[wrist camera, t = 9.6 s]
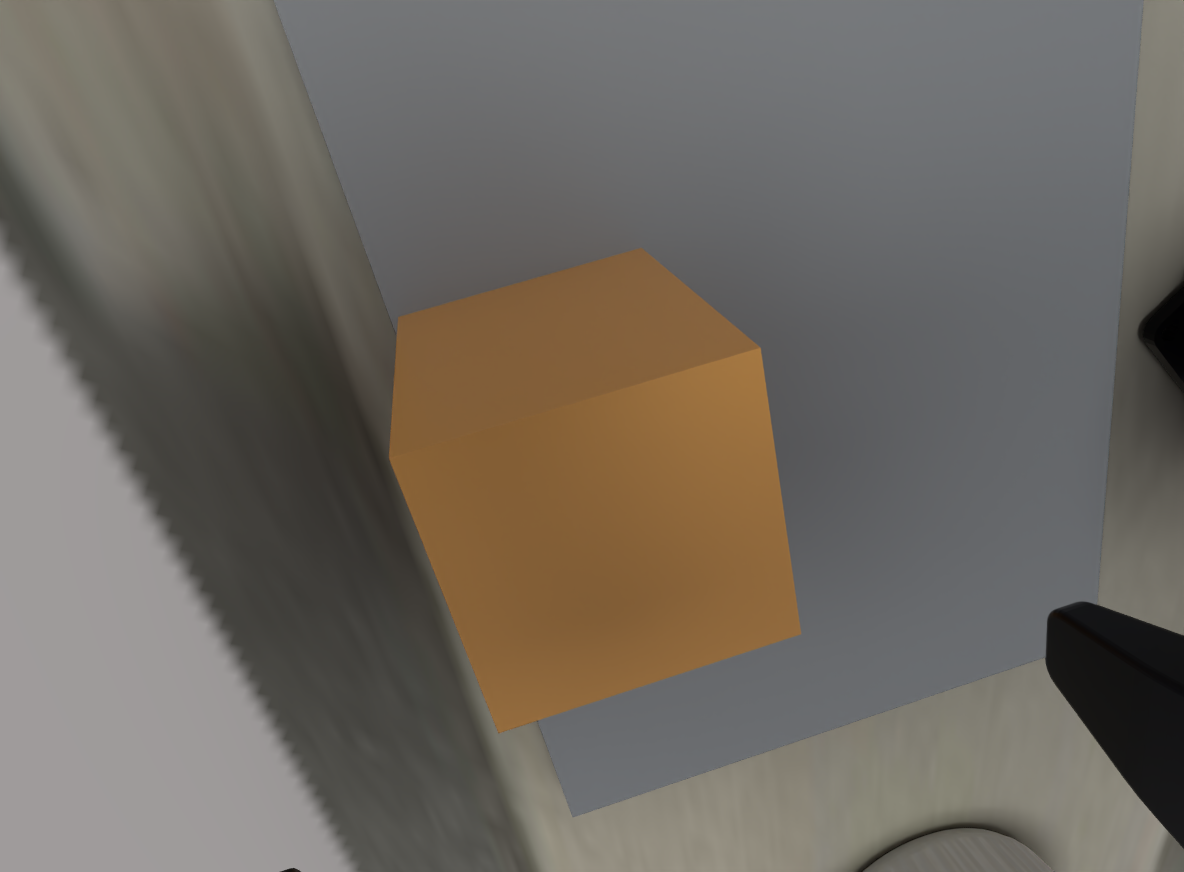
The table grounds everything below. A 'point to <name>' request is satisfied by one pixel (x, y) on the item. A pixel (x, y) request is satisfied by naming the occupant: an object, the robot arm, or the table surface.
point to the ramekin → (961, 854)
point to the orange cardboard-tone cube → (592, 483)
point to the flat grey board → (793, 293)
